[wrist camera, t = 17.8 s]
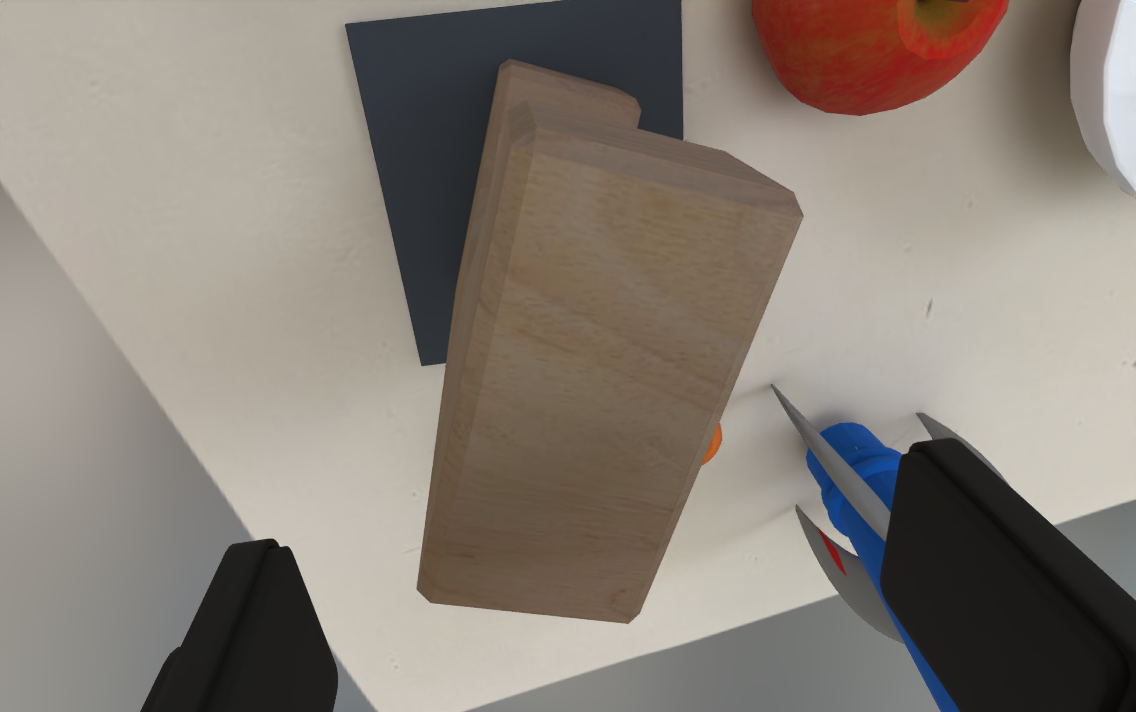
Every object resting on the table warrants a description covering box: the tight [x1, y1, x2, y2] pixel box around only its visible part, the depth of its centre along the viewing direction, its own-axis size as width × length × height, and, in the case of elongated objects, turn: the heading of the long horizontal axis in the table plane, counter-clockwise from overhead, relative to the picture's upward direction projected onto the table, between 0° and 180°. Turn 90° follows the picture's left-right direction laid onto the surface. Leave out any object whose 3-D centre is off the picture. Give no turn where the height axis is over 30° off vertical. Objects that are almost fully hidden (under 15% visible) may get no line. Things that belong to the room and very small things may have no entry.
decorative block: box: [417, 59, 803, 624], centre depth 22 cm, size 11×6×20 cm, turn 164°
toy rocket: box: [771, 384, 1009, 712], centre depth 29 cm, size 11×10×25 cm
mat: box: [345, 0, 683, 366], centre depth 32 cm, size 14×16×1 cm
